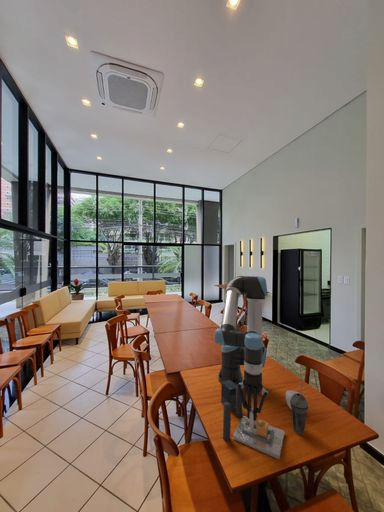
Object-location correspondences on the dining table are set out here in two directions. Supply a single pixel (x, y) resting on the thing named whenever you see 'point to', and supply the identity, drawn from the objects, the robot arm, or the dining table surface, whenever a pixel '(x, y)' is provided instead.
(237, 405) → the cord post
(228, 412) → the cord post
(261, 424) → the block
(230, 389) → the box
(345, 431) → the dining table surface
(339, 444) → the dining table surface
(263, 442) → the breaker panel
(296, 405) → the beverage cup
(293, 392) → the cup
